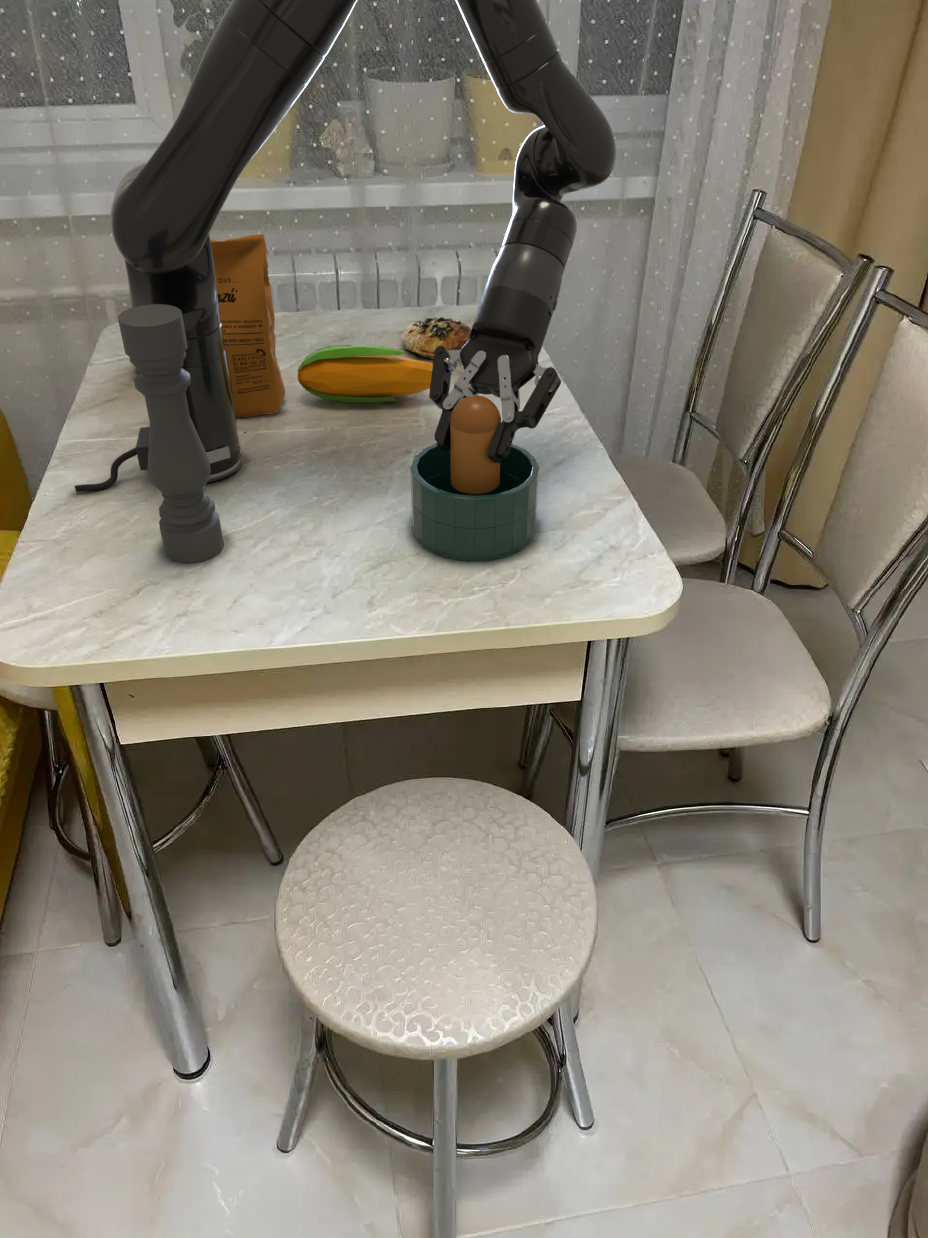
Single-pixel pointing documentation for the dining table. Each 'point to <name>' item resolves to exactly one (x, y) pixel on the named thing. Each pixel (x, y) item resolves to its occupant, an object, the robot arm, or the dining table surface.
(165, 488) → the candle holder
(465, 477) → the brown rounded cylinder
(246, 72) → the robot arm
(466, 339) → the bread roll
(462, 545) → the pot
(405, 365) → the corn
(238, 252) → the coffee package
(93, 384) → the dining table surface
